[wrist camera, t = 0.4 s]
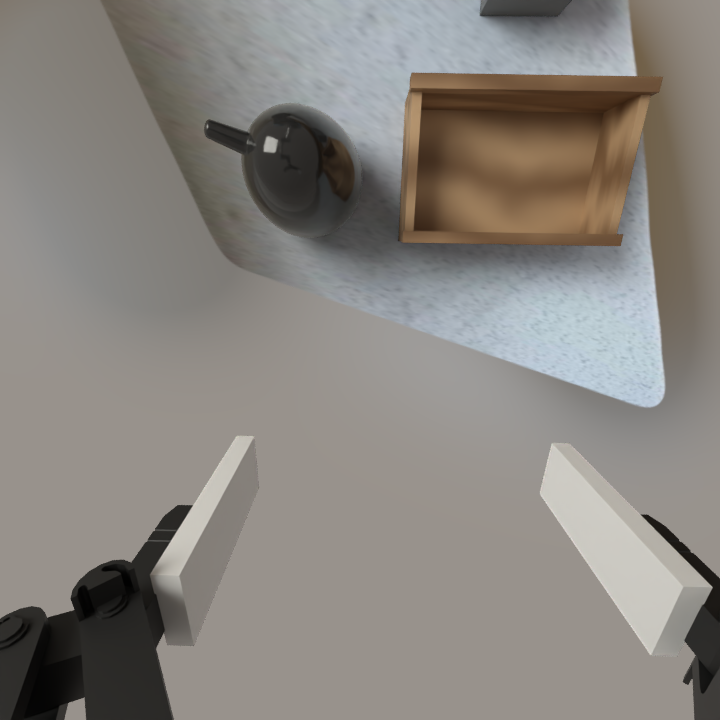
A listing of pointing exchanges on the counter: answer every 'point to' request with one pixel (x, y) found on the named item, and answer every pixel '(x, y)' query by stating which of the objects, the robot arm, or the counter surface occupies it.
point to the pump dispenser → (297, 168)
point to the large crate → (519, 157)
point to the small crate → (523, 7)
